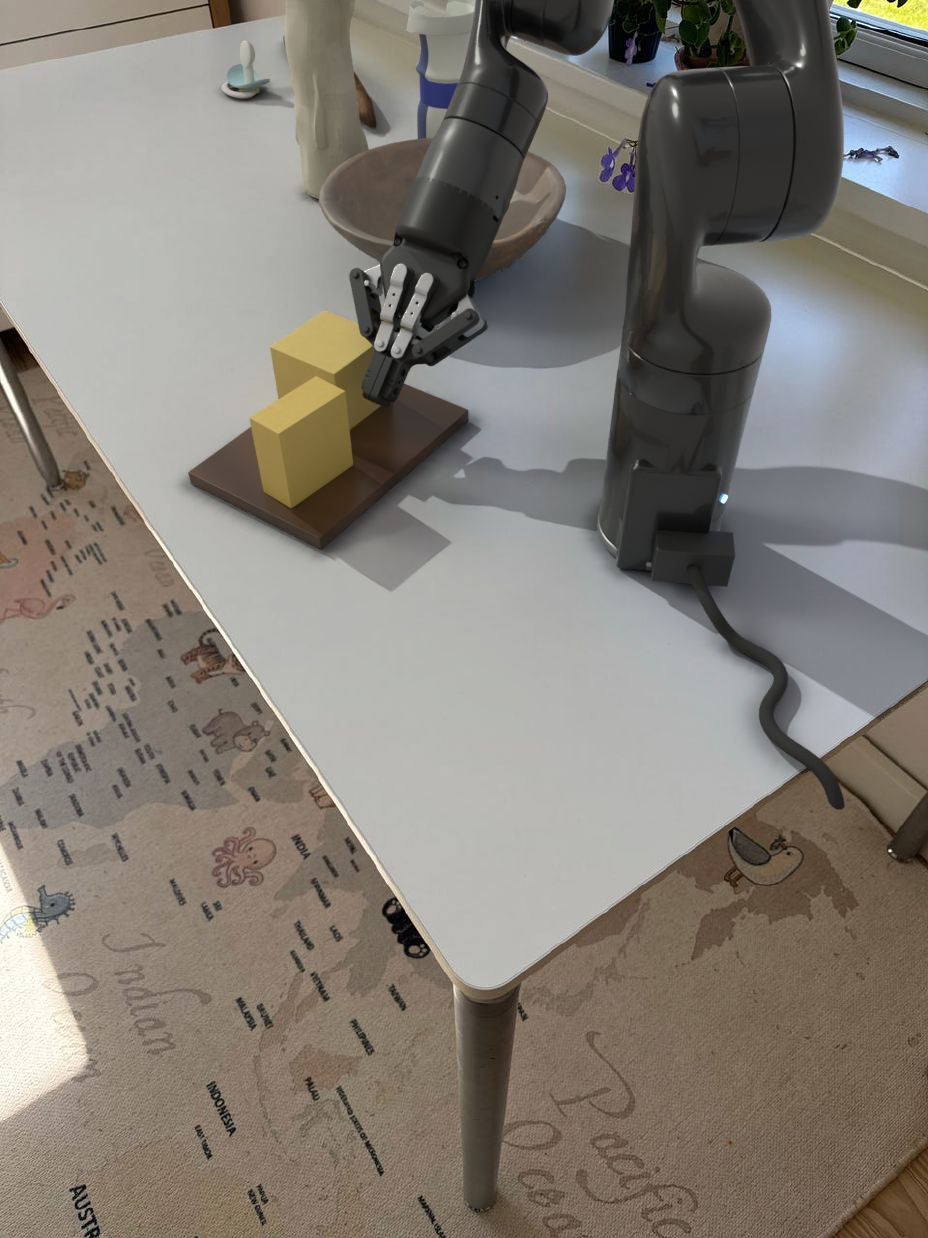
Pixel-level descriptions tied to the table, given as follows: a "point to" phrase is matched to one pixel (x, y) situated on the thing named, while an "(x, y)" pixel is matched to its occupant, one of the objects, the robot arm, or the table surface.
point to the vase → (323, 87)
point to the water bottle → (439, 58)
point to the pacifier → (244, 75)
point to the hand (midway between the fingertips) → (375, 402)
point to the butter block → (326, 360)
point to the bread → (363, 103)
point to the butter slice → (302, 441)
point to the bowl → (383, 177)
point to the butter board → (379, 463)
